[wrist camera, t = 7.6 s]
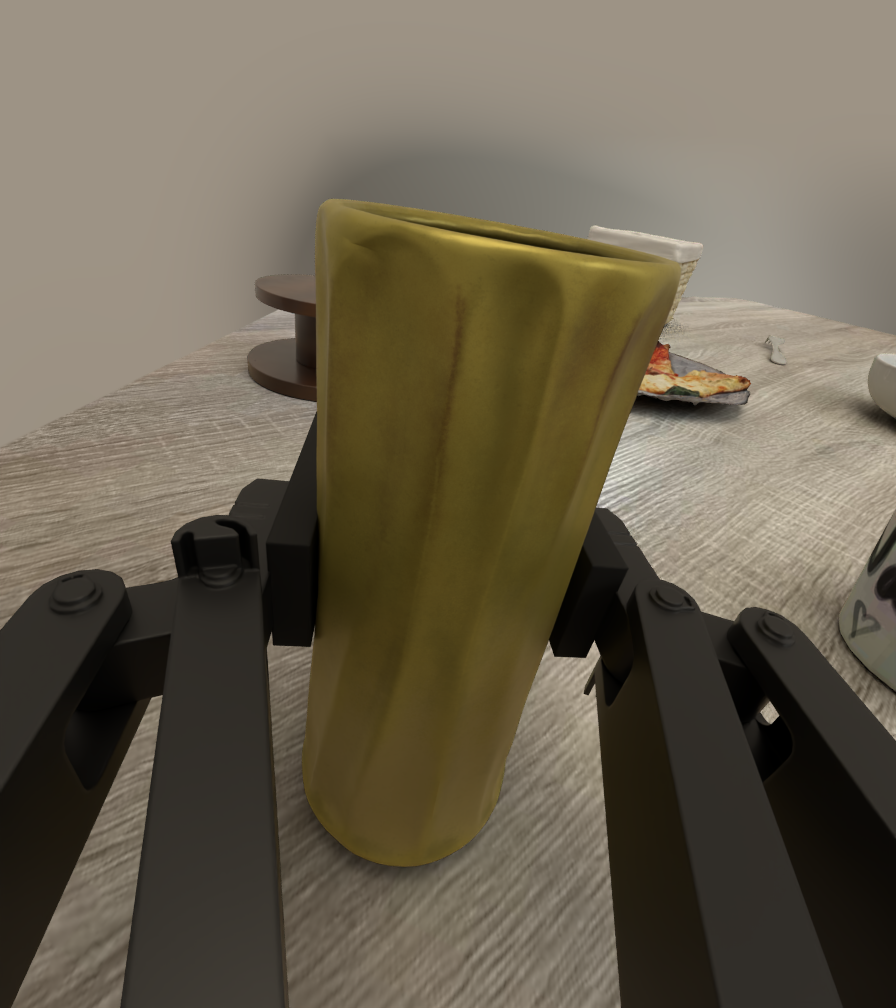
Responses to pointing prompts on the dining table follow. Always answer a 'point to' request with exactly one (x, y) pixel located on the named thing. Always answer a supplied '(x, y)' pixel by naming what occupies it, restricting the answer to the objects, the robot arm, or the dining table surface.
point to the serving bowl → (883, 382)
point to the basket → (655, 251)
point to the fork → (776, 355)
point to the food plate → (690, 380)
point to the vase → (453, 497)
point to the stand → (288, 359)
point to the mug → (874, 610)
